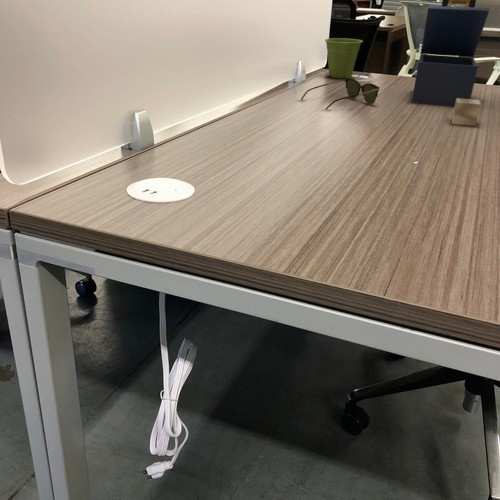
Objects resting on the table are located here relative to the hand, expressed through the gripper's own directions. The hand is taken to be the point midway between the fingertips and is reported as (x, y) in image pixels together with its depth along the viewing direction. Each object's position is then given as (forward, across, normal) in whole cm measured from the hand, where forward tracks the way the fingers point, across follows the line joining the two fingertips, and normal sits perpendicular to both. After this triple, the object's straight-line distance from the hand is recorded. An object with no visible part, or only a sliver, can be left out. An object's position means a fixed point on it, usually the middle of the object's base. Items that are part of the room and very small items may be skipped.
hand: (457, 9), depth 127 cm
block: (+23, +5, -26) cm, 35 cm away
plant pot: (+21, -31, +24) cm, 45 cm away
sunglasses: (+22, -25, -17) cm, 38 cm away
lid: (+6, 0, +2) cm, 6 cm away
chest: (+22, 0, +1) cm, 22 cm away
